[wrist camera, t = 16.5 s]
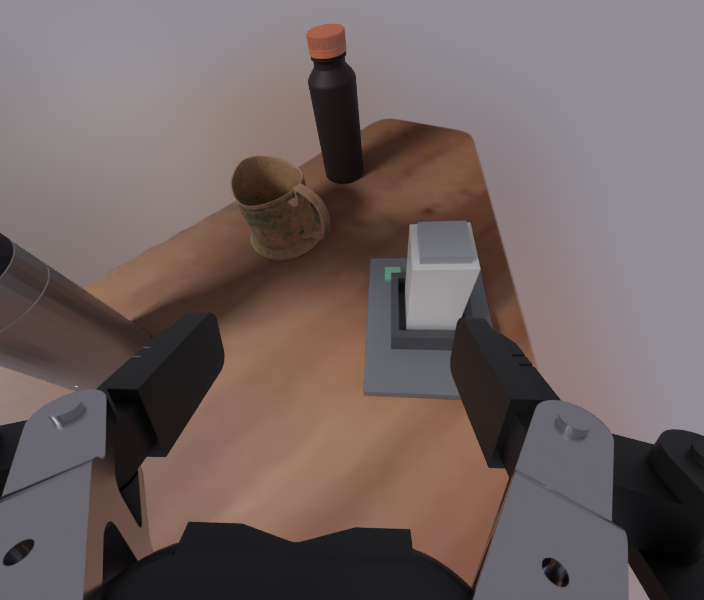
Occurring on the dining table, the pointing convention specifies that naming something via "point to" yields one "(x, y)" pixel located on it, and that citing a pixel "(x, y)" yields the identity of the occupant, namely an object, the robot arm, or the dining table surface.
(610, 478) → the robot arm
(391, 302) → the dock
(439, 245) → the grey tall block
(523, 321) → the dining table surface
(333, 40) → the bottle
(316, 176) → the dining table surface
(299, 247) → the mug
